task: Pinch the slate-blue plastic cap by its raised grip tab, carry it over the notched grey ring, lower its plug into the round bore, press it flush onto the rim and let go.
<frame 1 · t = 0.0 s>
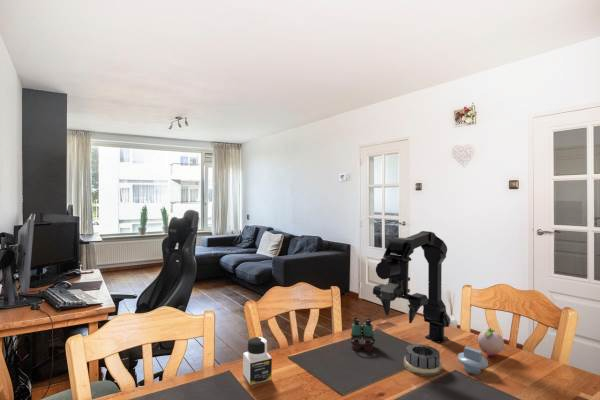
hand: (398, 319, 122), 15 cm above the table, tool pointing down, fingers open, 9 cm apart
lens cap: (472, 370, 117), on the table
medicine bottle: (257, 377, 111), on the table
notched grey ring: (422, 367, 119), on the table
decorative fruit: (490, 356, 128), on the table
binoculars: (362, 348, 132), on the table
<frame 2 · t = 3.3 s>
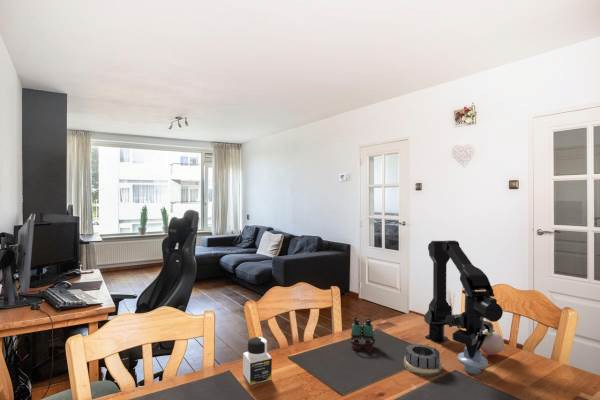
hand: (472, 356, 117), 5 cm above the table, tool pointing down, fingers closed on lens cap
lens cap: (472, 370, 117), on the table, touching gripper
everything else where it was.
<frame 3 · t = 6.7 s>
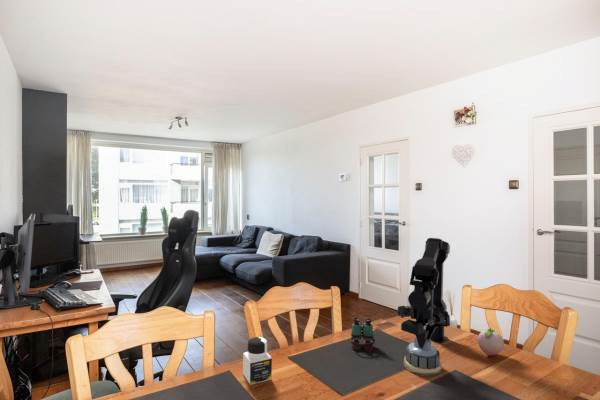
hand: (422, 346, 118), 7 cm above the table, tool pointing down, fingers closed on lens cap
lens cap: (422, 359, 119), point 2 cm above the table, touching gripper, notched grey ring
everything else where it was.
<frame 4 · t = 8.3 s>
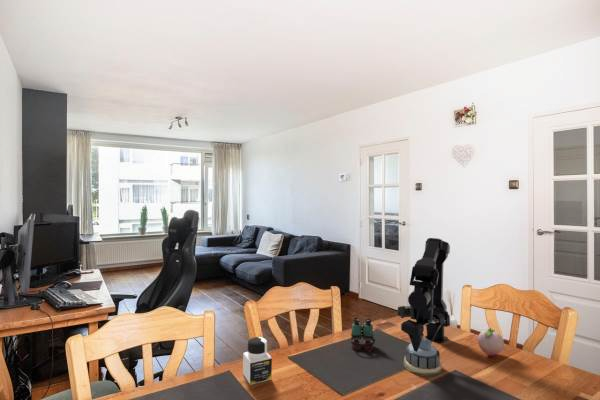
hand: (422, 347, 118), 7 cm above the table, tool pointing down, fingers open, 9 cm apart
lens cap: (422, 359, 119), point 2 cm above the table, touching notched grey ring
everything else where it was.
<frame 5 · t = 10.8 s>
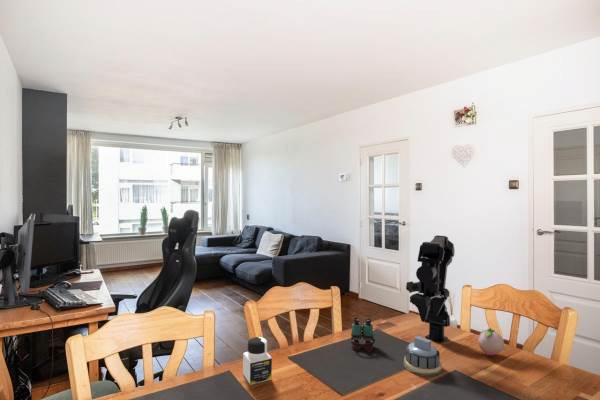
hand: (429, 318, 129), 13 cm above the table, tool pointing down, fingers open, 9 cm apart
nothing on the table moved.
at the end: lens cap 0.1 cm off-centre on the notched grey ring, point 2.5 cm above the notched grey ring's base; lens cap tilted 0°; the gripper is holding nothing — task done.
